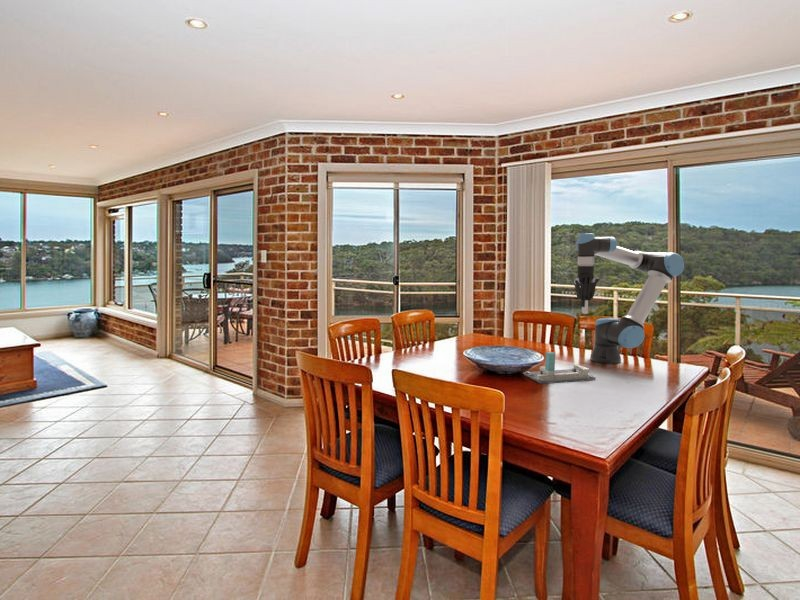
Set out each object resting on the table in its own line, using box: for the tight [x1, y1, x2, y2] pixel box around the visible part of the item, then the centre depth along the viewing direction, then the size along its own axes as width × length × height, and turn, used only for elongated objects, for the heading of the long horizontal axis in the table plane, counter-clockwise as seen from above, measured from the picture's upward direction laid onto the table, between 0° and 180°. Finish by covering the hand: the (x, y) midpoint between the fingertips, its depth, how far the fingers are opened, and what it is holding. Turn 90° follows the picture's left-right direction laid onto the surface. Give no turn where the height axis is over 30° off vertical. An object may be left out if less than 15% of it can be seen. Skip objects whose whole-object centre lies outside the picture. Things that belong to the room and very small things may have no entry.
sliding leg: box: [539, 351, 556, 375], centre depth 216 cm, size 3×10×12 cm, turn 13°
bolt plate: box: [522, 367, 596, 385], centre depth 221 cm, size 28×16×2 cm, turn 103°
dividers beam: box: [537, 363, 591, 380], centre depth 218 cm, size 25×10×4 cm, turn 103°
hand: (584, 313), depth 232 cm, fingers closed
